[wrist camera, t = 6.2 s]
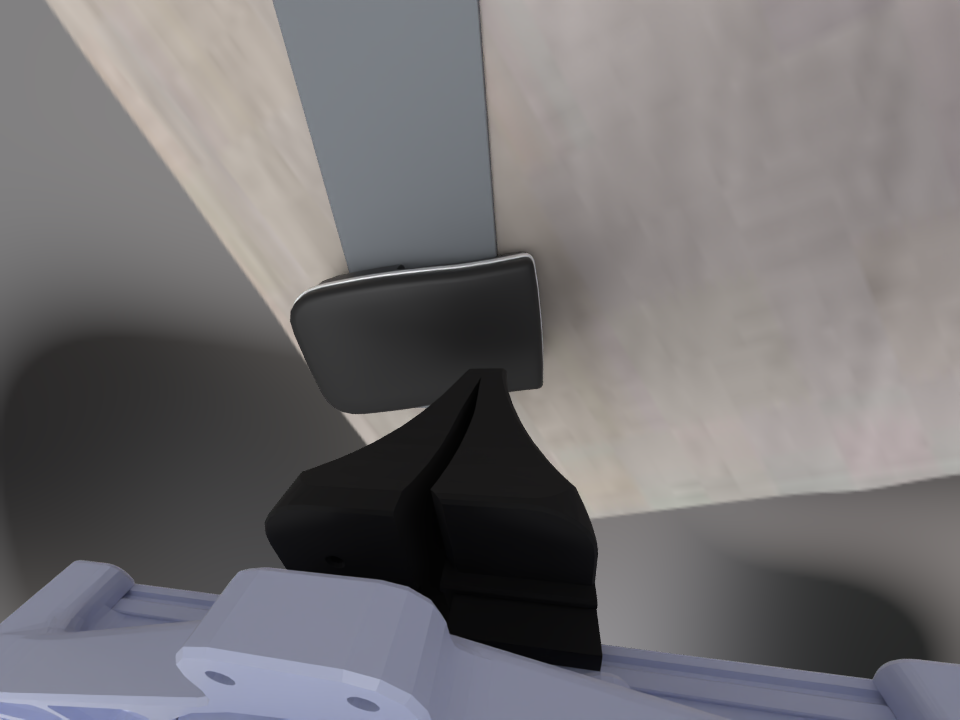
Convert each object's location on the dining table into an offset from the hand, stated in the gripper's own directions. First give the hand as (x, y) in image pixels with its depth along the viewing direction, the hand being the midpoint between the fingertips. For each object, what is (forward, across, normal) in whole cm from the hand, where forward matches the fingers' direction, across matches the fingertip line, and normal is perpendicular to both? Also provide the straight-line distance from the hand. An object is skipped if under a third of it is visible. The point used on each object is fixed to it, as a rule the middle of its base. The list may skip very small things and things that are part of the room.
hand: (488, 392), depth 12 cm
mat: (+7, +4, -4) cm, 9 cm away
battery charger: (+6, -2, 0) cm, 6 cm away
